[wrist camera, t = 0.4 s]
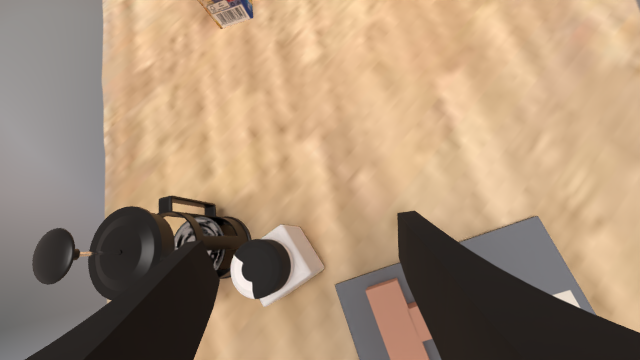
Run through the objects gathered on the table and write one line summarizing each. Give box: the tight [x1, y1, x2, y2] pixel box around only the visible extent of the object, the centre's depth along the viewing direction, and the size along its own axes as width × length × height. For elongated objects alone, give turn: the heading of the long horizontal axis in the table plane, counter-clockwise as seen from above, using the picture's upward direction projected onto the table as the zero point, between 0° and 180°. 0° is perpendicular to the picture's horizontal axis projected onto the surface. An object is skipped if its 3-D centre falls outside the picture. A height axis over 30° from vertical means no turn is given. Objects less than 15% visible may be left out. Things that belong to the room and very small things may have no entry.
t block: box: [366, 278, 432, 360], centre depth 31 cm, size 10×9×2 cm
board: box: [335, 216, 596, 360], centre depth 32 cm, size 18×26×1 cm
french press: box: [32, 196, 251, 300], centre depth 31 cm, size 12×9×23 cm
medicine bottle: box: [231, 224, 324, 307], centre depth 33 cm, size 7×7×12 cm
